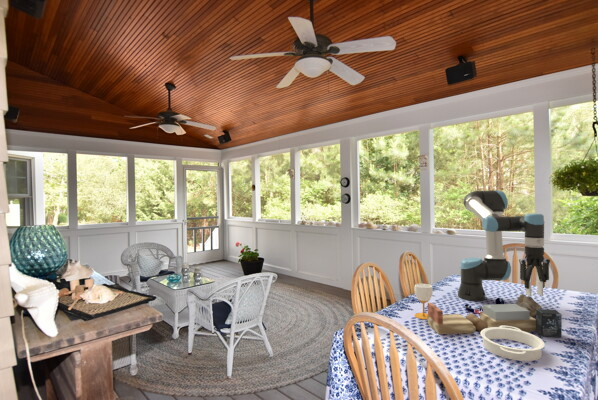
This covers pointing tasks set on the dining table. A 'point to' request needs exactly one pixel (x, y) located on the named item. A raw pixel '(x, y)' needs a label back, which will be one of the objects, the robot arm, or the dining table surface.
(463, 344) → the dining table surface
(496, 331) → the cream oval ring
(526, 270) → the robot arm
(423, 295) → the cup
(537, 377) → the dining table surface
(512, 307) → the slab
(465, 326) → the track
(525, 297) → the rock
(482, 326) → the roller
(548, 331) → the box
